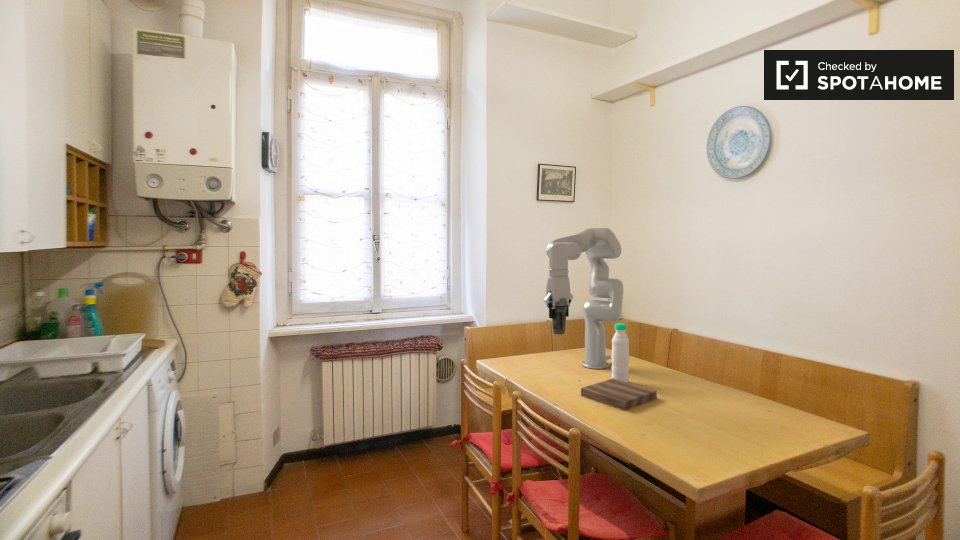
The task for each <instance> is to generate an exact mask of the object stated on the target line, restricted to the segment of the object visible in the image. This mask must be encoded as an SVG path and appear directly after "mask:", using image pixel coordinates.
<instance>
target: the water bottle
mask: <svg viewBox="0 0 960 540" xmlns="http://www.w3.org/2000/svg"><path fill="white" fill-rule="evenodd" d="M614 330H615V333H614V335H613V337H612V339H611V345H612V346H611V378H610V379H613V378H614V379H617V380H621V381H624V382H628V383H630V381H629V380H630V376H629V371H630V370H629V368H630V367H629V364H630V348H629V347H630V340H629V337H628V335H627V334H626V331H627V324H626V323H621V322H620V323H614Z"/></svg>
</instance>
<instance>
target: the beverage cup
mask: <svg viewBox="0 0 960 540" xmlns="http://www.w3.org/2000/svg"><path fill="white" fill-rule="evenodd" d="M552 301H553V300H552ZM552 305H553V303H552ZM567 306H568V304H567V300H566V299H565V298H562V299H560V300H559V301H558V302H556V305H555V308H554V309H556V319H551V324H552V331H553V335H559V336H560V335H565V331H566V325H567V324H566V322H567V317H566V312H567Z"/></svg>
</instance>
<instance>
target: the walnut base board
mask: <svg viewBox="0 0 960 540" xmlns="http://www.w3.org/2000/svg"><path fill="white" fill-rule="evenodd" d="M580 397H584V398H587V399H589V400H591V401H592V400H593V401H595V402H598V403H601V404H604V405H607V406H610V407H613V408H615V409H618V410H622V411H627V410H629V409H632V408H636V407H637V406H641V405H643V404H646V403H648V402H651V401H654V400H657V397H658V391H657V390H655V389H652V388H648V387H645V386H641V385H637V384H636V383H635V384H634V383H632V382H631V383H630V382H624V381H621V380H617V379H614V378H613V379H611V378H610V379H607V380H603V381H601V382H598V383H597V382H596V383H593V384H589V385H587V386H584V387H581V388H580Z"/></svg>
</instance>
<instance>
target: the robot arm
mask: <svg viewBox="0 0 960 540" xmlns="http://www.w3.org/2000/svg"><path fill="white" fill-rule="evenodd" d="M582 253H585V255H586V257H587V259H588V261H589V262H588V263H589V265H590V278H589V286H588V293H589V296H591V297H593V298H599V299H610V300H599V299H590V300H587V301H586V302H584V304H583V307H582V310H583V317H584V327H585V328H584V330H585V333H584V352H585V353H584V360H583V361H581V366H582V367H584V368H586V369H593V370H594V369H595V370H602V369H607V368H609V365H610V364H609V362H607V361H608V360H612V355H609V354H608V355H607V353H606V352H607V350H606V343H607V339H606V338H607V337H606V336H607V334H606V331H607V329H606V327H605V325H604V323H603V322H612V323H615V322H618V321H620V319H621V316H622V309H623V301H624V284H623V282H622V280H620V279H618V278H609V276H610V275H609V274H610V267H609V265H608V263H607V262H606V261H605V260H604V259H606V260H607V259H610V260H611V259H613V260H615V259H617V258H619V257H620V256H621V254H622V245H621V242H620V241H619V239H618V238H617V236H616V234H615V233H614V232H613V231H612V230H611V228H608V227H591V228H590V227H589V228H586V229H584V230H583V231H580V232H578V233H576V234H573V235H572V234H571V235H568V236H564V237H560V238H556V239H554V240H552V241H550V242H549V243H548V245H547V247H546V255H547V257H548V267H549V268H548V269H549V271H548V272H549V273H548V275H549V276H548V277H547V279H546V288H545V289H546V290H545V298H543V302H544V304H545V305H546V307H547V309H548V318H549V319H551V320H552V319H556V309H554V308H555V305H556V302H558V301H559V300H560V299H562V298H565V299H566V300H567V304H568V306H567V312H566V318H567V317H568V318H569V316H570V314H569V311H570V310H569V309H570V307H571V305H570V304H571V303H572V301H573V299H574V295H573V294H572V293H571V284H570V277H569V272H570V271H569V261H576V260H578V259H579V258H580V257H581V256H582ZM552 300H553V301H552ZM552 303H553V305H552Z"/></svg>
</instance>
